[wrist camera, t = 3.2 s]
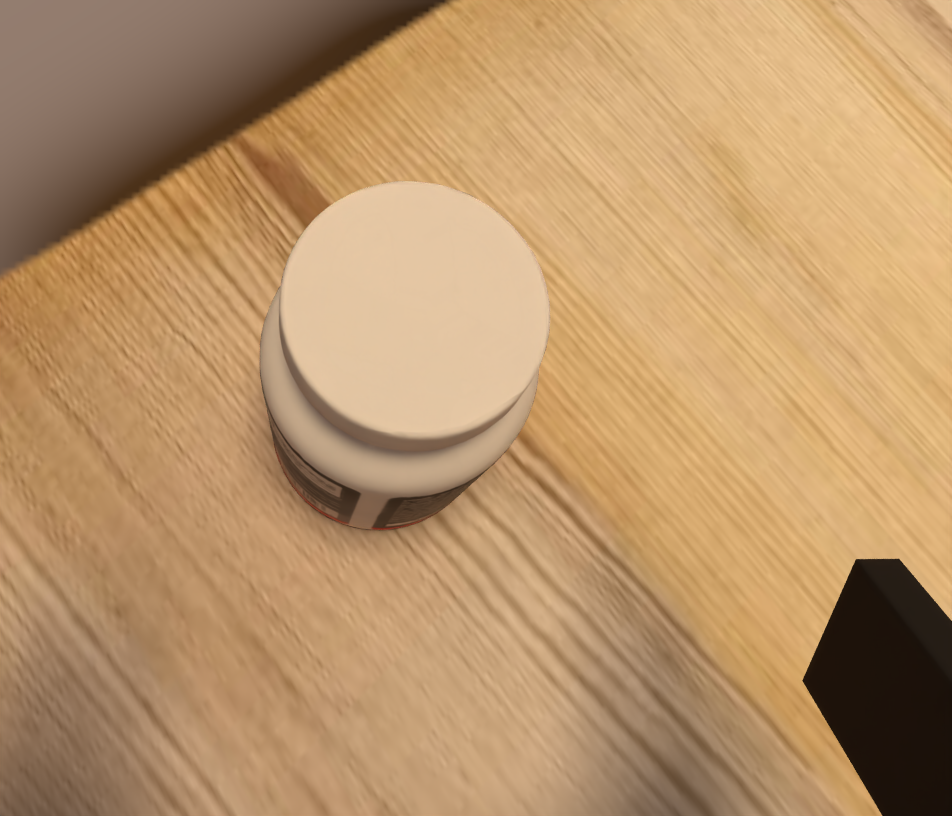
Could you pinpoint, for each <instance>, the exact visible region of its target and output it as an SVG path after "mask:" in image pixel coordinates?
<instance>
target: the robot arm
mask: <svg viewBox="0 0 952 816" xmlns="http://www.w3.org/2000/svg"><path fill="white" fill-rule="evenodd" d="M802 681H803V683H804V684H805V686H806V688H807V689H808V691H809V693H810V694H811V696H812V698H813V699H814V701H815V703H816V704H817V706H818V708H819V709H820V711H821V713H822V715H823V716H824V718H825V720H826V721H827V723H828V725H829V726H830V728H831V730H832V731H833V733H834V735H835V736H836V738H837V740H838V741H839V743H840V745H841V747H842V748H843V750H844V752H845V753H846V755H847V757H848V758H849V760H850V762H851V763H852V765H853V767H854V768H855V770H856V772H857V773H858V775H859V777H860V779H861V780H862V782H863V784H864V785H865V787H866V789H867V790H868V792H869V794H870V795H871V797H872V799H873V800H874V802H875V804H876V805H877V807H878V809H879V811H880V812H881V814H882V816H952V621H951V620H950V619H949V617H948V616H947V615H946V614H945V613H944V612H943V610H942V609H941V608H940V607H939V606H938V604H937V603H936V602H935V601H934V600H933V598H932V597H931V596H930V595H929V594H928V593H927V591H926V590H925V589H924V588H923V587H922V585H921V584H920V583H919V582H918V581H917V579H916V578H915V577H914V576H913V575H912V574H911V572H910V571H909V570H908V569H907V568H906V566H905V565H904V564H903V563H902V562H901V561H900V559H856V560H855V563H854V565H853V567H852V570H851V572H850V574H849V576H848V579H847V581H846V583H845V585H844V588H843V590H842V592H841V594H840V597H839V599H838V601H837V603H836V606H835V608H834V610H833V613H832V615H831V617H830V619H829V622H828V624H827V626H826V628H825V631H824V633H823V635H822V637H821V640H820V642H819V644H818V647H817V649H816V651H815V653H814V656H813V658H812V660H811V662H810V665H809V667H808V669H807V671H806V674H805V676H804V678H803V680H802Z"/></svg>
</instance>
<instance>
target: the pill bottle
mask: <svg viewBox="0 0 952 816" xmlns="http://www.w3.org/2000/svg"><path fill="white" fill-rule="evenodd" d="M549 331H550V301H549V296H548V291H547V286H546V283H545V280H544V277H543V274H542V271H541V268H540V265H539V263H538V261H537V259H536V257H535V255H534V253H533V252H532V250H531V249H530V247H529V246H528V244H527V243H526V241H525V240H524V238H523V237H522V236H521V235H520V234H519V232H518V231H517V230H516V229H515V228H514V227H513V226H512V225H511V224H510V223H509V222H508V221H507V220H506V219H505V218H504V217H503V216H501V215H500V214H499V213H498V212H497V211H495V210H494V209H493V208H491V207H490V206H488V205H486V204H485V203H483V202H482V201H480V200H478V199H476V198H475V197H473V196H471V195H469V194H466V193H464V192H462V191H459V190H456V189H453V188H450V187H447V186H443V185H440V184H433V183H426V182H416V181H397V182H389V183H382V184H378V185H374V186H370V187H367V188H364V189H361V190H358V191H356V192H353V193H351V194H349V195H347V196H345V197H343V198H341V199H339V200H338V201H336V202H335V203H333V204H332V205H330V206H329V207H328V208H326V209H325V210H324V211H323V212H321V213H320V214H319V215H318V216H317V217H316V218H315V219H314V220H313V221H312V222H311V223H310V224H309V226H308V227H307V228H306V229H305V230H304V232H303V233H302V234H301V236H300V237H299V239H298V241H297V242H296V244H295V246H294V247H293V249H292V251H291V253H290V256H289V258H288V260H287V263H286V266H285V268H284V272H283V276H282V281H281V286H280V287H279V289H278V291H277V293H276V294H275V296H274V298H273V301H272V303H271V305H270V307H269V310H268V313H267V316H266V318H265V321H264V325H263V330H262V334H261V342H260V377H261V383H262V390H263V394H264V398H265V403H266V407H267V412H268V417H269V421H270V427H271V431H272V436H273V441H274V446H275V451H276V454H277V457H278V460H279V463H280V465H281V467H282V469H283V471H284V473H285V475H286V477H287V478H288V480H289V481H290V483H291V485H292V486H293V487H294V489H295V490H296V491H297V492H298V494H299V495H300V496H301V497H302V498H303V499H304V500H305V501H306V502H307V503H308V504H309V505H311V506H312V507H313V508H314V509H316V510H317V511H319V512H320V513H322V514H324V515H325V516H327V517H329V518H331V519H333V520H335V521H338V522H340V523H342V524H345V525H348V526H352V527H356V528H362V529H370V530H388V529H396V528H401V527H406V526H409V525H413V524H415V523H418V522H421V521H423V520H425V519H427V518H429V517H431V516H433V515H434V514H436V513H438V512H439V511H441V510H442V509H443V508H445V507H446V506H447V505H449V504H450V503H451V502H452V501H453V500H454V499H455V498H456V497H458V496H459V495H460V494H461V493H462V492H463V491H464V490H465V489H466V488H467V487H469V486H470V485H471V484H472V483H473V482H474V481H475V480H477V479H478V478H479V477H480V476H481V475H482V474H483V473H484V472H485V471H486V470H487V469H489V468H490V467H491V466H492V465H493V464H494V463H495V462H496V461H497V460H498V459H499V458H500V457H501V456H502V455H503V454H504V453H505V452H506V450H507V449H508V448H509V447H510V445H511V444H512V443H513V441H514V440H515V438H516V437H517V436H518V434H519V432H520V431H521V429H522V428H523V426H524V424H525V422H526V420H527V418H528V415H529V413H530V410H531V407H532V405H533V402H534V398H535V394H536V390H537V383H538V376H539V367H540V365H541V362H542V359H543V356H544V353H545V350H546V347H547V342H548V337H549Z"/></svg>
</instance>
